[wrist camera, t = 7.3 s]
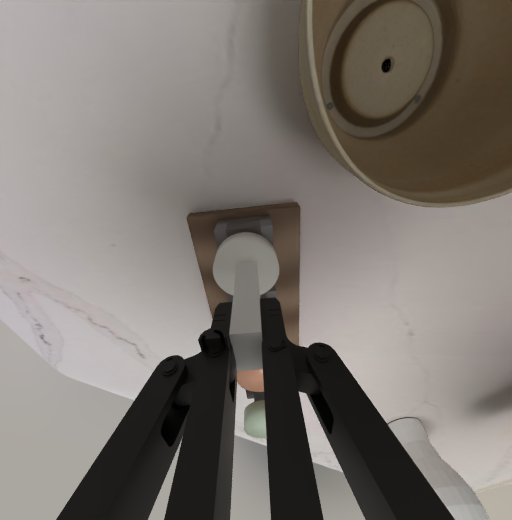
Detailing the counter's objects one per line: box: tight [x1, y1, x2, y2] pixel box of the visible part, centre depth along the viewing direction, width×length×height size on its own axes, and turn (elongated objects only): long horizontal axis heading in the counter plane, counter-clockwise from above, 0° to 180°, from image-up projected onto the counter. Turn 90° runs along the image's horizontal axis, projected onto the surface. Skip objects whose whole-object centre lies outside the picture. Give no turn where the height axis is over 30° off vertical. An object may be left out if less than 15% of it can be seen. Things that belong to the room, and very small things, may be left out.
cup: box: [388, 418, 490, 520], centre depth 40 cm, size 11×11×15 cm
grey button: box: [213, 232, 279, 295], centre depth 19 cm, size 5×5×5 cm
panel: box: [187, 203, 300, 399], centre depth 26 cm, size 27×11×4 cm, turn 5°
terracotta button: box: [237, 369, 264, 392], centre depth 26 cm, size 5×5×5 cm
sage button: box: [244, 392, 267, 438], centre depth 28 cm, size 5×5×5 cm
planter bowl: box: [298, 0, 512, 207], centre depth 12 cm, size 16×16×11 cm
